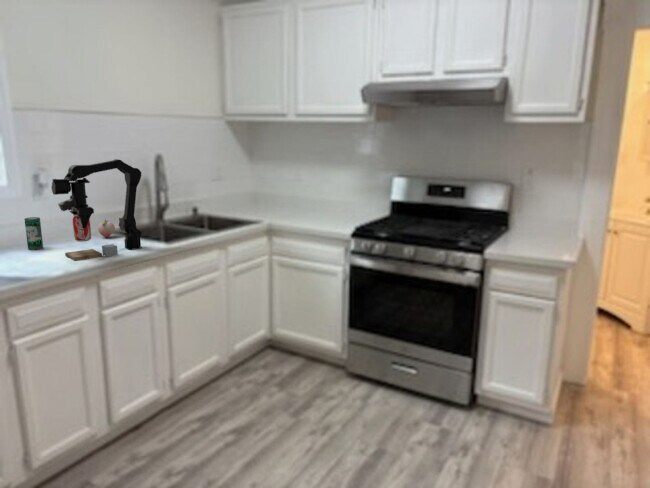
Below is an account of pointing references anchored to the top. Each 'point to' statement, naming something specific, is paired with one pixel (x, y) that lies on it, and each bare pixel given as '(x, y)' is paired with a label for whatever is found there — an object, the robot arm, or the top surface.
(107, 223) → the decorative fruit
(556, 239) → the top surface
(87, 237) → the soda can
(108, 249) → the slate block
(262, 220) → the top surface
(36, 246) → the can
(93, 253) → the walnut board
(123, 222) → the robot arm
